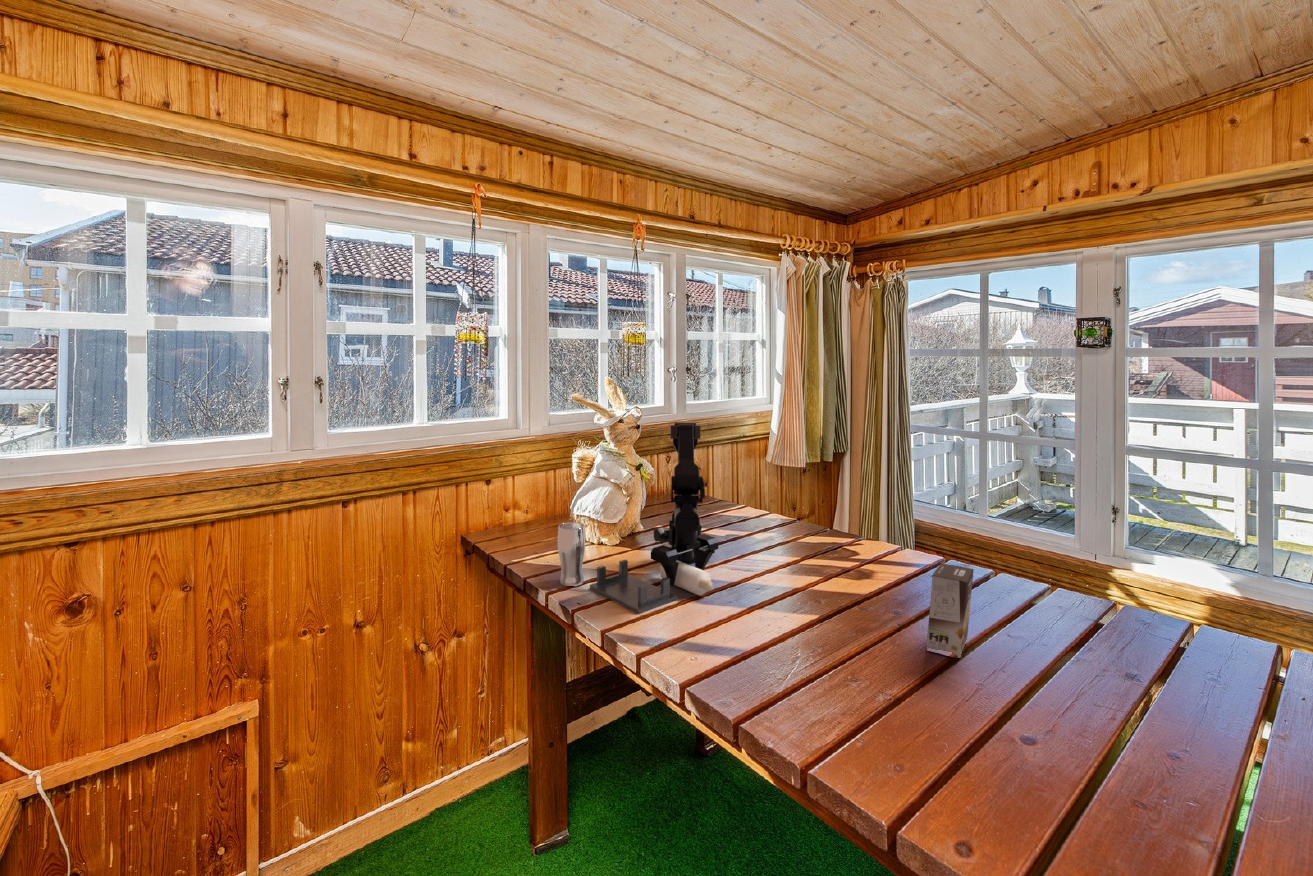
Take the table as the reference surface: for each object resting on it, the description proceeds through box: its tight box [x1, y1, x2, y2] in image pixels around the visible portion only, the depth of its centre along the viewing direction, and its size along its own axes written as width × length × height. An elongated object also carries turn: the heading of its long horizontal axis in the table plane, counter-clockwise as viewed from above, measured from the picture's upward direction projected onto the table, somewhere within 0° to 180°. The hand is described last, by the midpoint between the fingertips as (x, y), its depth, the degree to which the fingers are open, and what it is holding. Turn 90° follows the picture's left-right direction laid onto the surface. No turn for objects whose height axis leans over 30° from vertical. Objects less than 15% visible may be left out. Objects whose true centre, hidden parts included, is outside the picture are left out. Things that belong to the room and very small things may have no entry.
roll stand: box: [589, 559, 678, 615], centre depth 148 cm, size 12×19×6 cm, turn 41°
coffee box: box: [926, 563, 975, 659], centre depth 122 cm, size 9×6×16 cm
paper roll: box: [658, 560, 714, 596], centre depth 153 cm, size 17×6×6 cm, turn 42°
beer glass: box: [557, 521, 586, 587], centre depth 154 cm, size 7×7×15 cm
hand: (684, 581), depth 153 cm, fingers open, 9 cm apart
